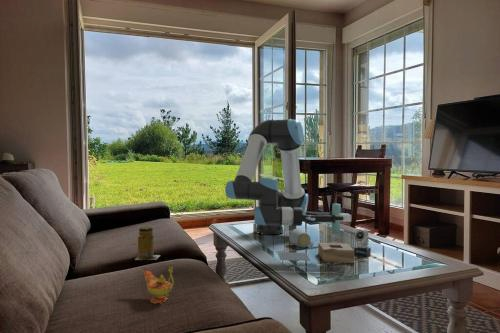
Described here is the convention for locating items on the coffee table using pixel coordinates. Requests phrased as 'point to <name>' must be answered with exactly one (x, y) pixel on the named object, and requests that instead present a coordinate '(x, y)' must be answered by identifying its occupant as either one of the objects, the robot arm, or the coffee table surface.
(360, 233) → the watch
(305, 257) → the mat
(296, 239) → the ceramic mug
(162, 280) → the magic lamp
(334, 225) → the dowel
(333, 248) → the socket block
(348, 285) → the coffee table surface
